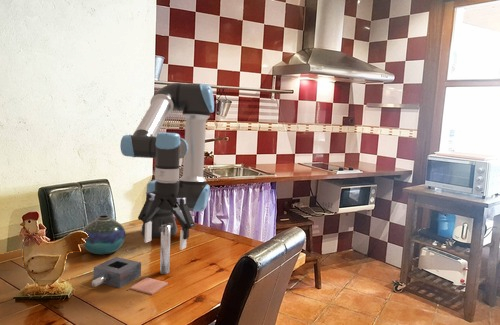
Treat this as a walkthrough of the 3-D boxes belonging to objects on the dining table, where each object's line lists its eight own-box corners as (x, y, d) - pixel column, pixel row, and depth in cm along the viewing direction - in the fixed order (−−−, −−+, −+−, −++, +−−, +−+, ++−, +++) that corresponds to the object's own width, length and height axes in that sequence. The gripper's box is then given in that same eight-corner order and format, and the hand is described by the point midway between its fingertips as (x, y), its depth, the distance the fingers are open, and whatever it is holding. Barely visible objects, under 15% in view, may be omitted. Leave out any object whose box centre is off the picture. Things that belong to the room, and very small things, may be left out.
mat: (146, 278, 124) (146, 277, 124) (168, 284, 122) (168, 282, 121) (130, 288, 117) (130, 287, 117) (152, 294, 114) (152, 293, 114)
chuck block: (116, 269, 130) (116, 256, 130) (140, 275, 127) (141, 262, 126) (81, 287, 116) (81, 273, 116) (107, 294, 113) (107, 280, 112)
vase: (99, 242, 155) (99, 209, 154) (133, 247, 151) (133, 214, 149) (71, 255, 141) (71, 219, 139) (108, 261, 136) (108, 224, 135)
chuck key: (166, 268, 134) (167, 222, 132) (173, 269, 133) (175, 223, 131) (155, 274, 128) (156, 227, 126) (162, 276, 127) (164, 228, 125)
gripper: (127, 178, 127) (126, 241, 130) (194, 187, 118) (192, 255, 121) (142, 175, 134) (141, 235, 137) (206, 183, 125) (204, 248, 127)
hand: (165, 245), depth 129 cm, fingers open, 13 cm apart
